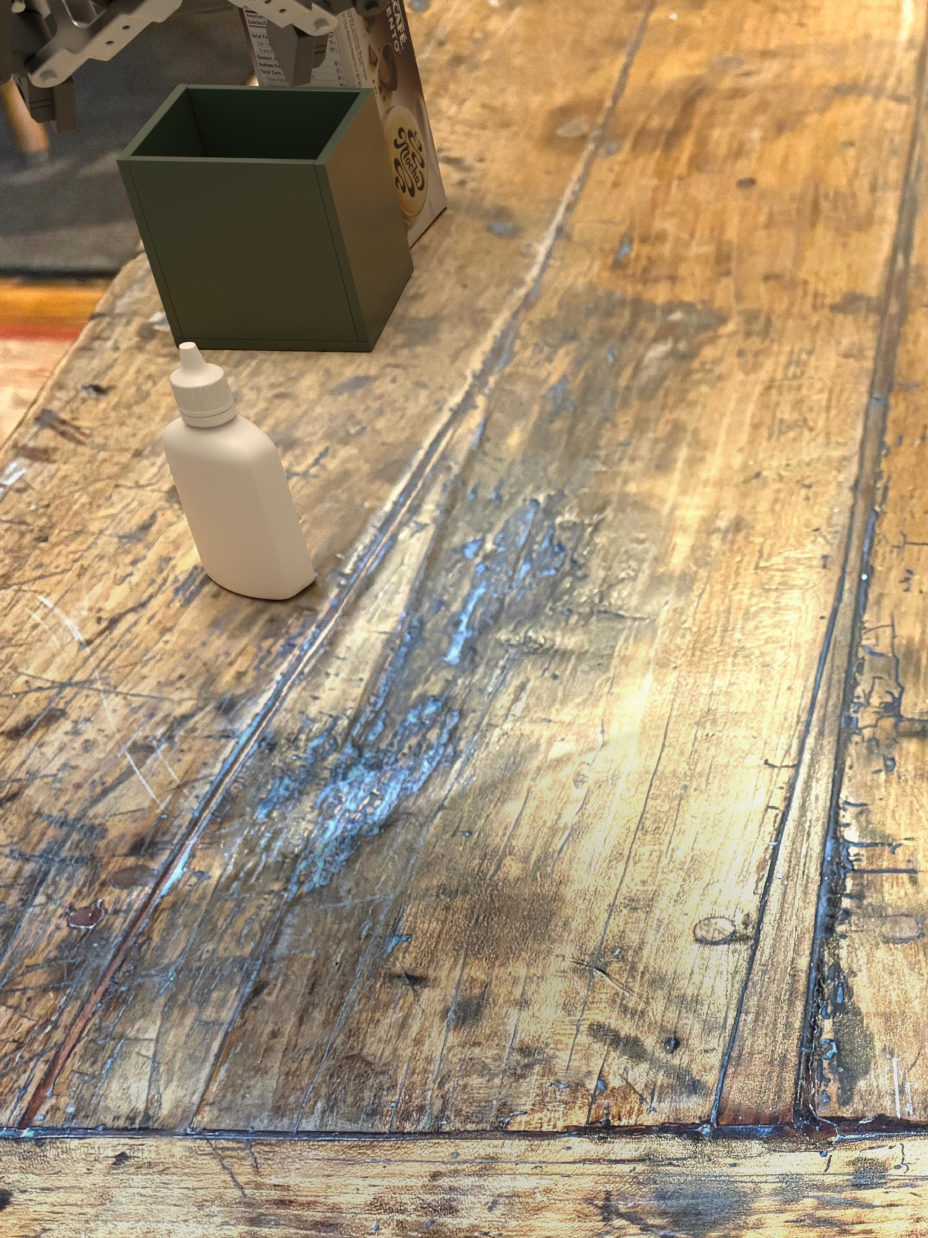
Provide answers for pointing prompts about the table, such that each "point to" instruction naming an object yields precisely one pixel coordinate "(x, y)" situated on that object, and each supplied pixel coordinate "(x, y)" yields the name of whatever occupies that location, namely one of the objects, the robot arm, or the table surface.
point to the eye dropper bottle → (232, 488)
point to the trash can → (269, 216)
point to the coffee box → (389, 66)
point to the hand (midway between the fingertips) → (172, 84)
